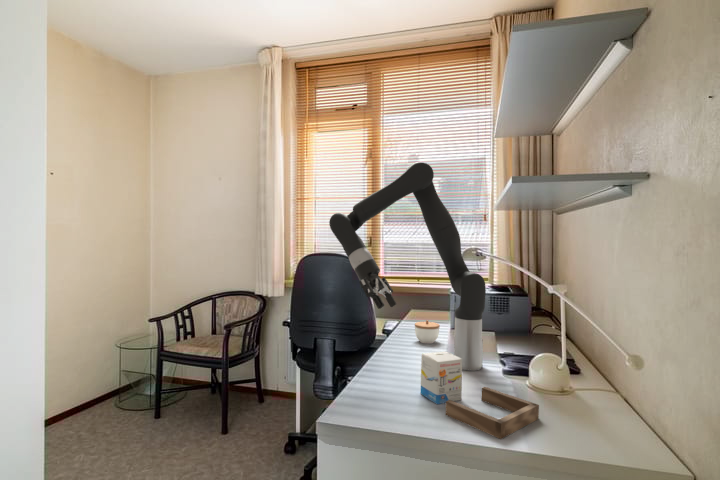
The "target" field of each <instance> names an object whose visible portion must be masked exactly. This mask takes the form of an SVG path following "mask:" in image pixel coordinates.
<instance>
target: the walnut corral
mask: <svg viewBox="0 0 720 480" xmlns="http://www.w3.org/2000/svg"><path fill="white" fill-rule="evenodd" d="M480 401H482V402H485V403H487V404H490V405H493V406H495V407H497V408H501V409H504V410H506V411H509V412H511V413H509V414H507V415H505V416H503V417H501V418H496V417H494V416H491V415H488V414H486V413H484V412H481V411H478V410H476V409H474V408H471V407H469V406H466V405H463V404H461V403H460V402H459V403H458V402H457V401H451V400H448V401H446V403H445V416H447V417H449V418H452V419H454V420H456V421H458V422H461V423H463V424H465V425H467V426H470V427H472V428H474V429H476V430H479V431H480V432H483V433H485V434H488V435H491V436H492V437H495V438H497V439H500V440H502V439H505V438H506V437H508V436H510V435H512V434H513V433H516V432H517V431H519V430H521V429H523V428H524V427H527V426H528V425H530V424H532V423H534V422H536V421H537V420H539V417H540V405H539V404H538V403H535V402H531V401H528V400H525V399H523V398H519V397H518V396H517V397H516V396H513V395H511V394H507V393H506V392H505V393H504V392H502V391H500V390H496V389H493V388H490V387H486V386H483V387H481V400H480Z"/></svg>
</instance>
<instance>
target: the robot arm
mask: <svg viewBox="0 0 720 480" xmlns="http://www.w3.org/2000/svg"><path fill="white" fill-rule="evenodd" d="M434 174H435V173H434V169H433V167H432V166H431V165H430V164H429V163H427V162H424V161H417V162H414V163H412V164H410V165H409V166H408V167H407V168H406V170H405V171H404V172H403V173H402V174H401V175H400V176H399V177H398V178H396V179H395V180H393V181H391V183H389V184H387V185H386V186H384V187H382V188H380V189H379V190H377V191H375V192H373V193H371V194H370V195H368V196H366V197H365V198H363V199H362V200H360V201H359V202H357V203H356V204H354V205H353V207H352V211H351V212H350V213H349V214H347V215H346V214H345V213H343V212H336V213H333V214H332V215H331V217H330V219H329V224H328V225H329V228H330V230H331V231H332V233H333V235H334V236H335V238H336V239H337V241H338V242H339V244H340V245H341V247H342V249H343V251H344V253H345V254H346V256H347V258H348V260H349V263H350V265H351V267H352V269H353V270H354V272H355V274H356V276H357V278H358V280H359V284H360V286H361V288H362V289H363V292H364V294H365V296H366V297H367V298H370V299H371V300H373V302H374V304H375V307H377V309H379V310H380V309H382V308H384V306H385V304H384V302H383V300H382V298H381V296H380V295H382V296H384V298H385V300H386V301H387V303H388V306H390V307H391V308H393V307H395V306H396V305H397V301H396V300H395V298H394V297H393V294H392V293H394V290H393V289H392V287H391V285H390V284H389V281H388V279H386V277H385V276H383V277H382V278H381V277H380V276H379V274H380V272H381V269H380V268H379V265H378V263H377V262H376V260H375V258H374V257H373V255H372V253H371V252H370V251H369V249H368V248H367V246H366V245H365V243H364V241H363V240H362V238H361V237H360V236H359V234H358V233H357V232H356V231H358V230H359V229H360V228H361V227H362V226H363V225H364V224H365V223H366V222H368V221H370V220H371V219H373V218H374V217H377V215H379V214H381V213H382V212H384V211H385V210H386V209H388V208H389V207H390V206H393V204H395V203H396V202H398V201H400V200H401V199H403V198H404V197H407V196H408V195H410V194H412V195H413V196H414V198H415V199H416V202H417V204H418V205H419V207H420V210H421V214H422V216H423V217H422V218H423V220H424V222H425V225H426V227H427V230H428V233H429V235H430V237H431V240H432V241H433V243H434V246H435V248H436V250H437V252H438V253H439V256H440V258H441V261H442V262H443V264H444V266H445V270H446V272H447V276H448V280H449V282H450V285H451V288H452V290H453V291H454V293H455V294H456V295H457V296H459V297H460V299H459V305H458V307H456V308H455V309H454V347H453V348H454V349H453V350H454V352H453V353H454V354H453V355H455V356H457V357H459V358H461V359H462V371H474V372H475V371H479V370H481V369H482V367H483V354H484V353H483V352H484V351H483V349H484V340H483V339H482V338H483V337H482V336H483V314H484V311H485V307H486V294H487V293H486V292H487V291H486V289H487V288H486V286H487V285H486V282H485V279H484V278H483V276H482V275H481V274H480V273H476V272H472V271H470V270H469V268H468V266H467V264H466V262H465V260H464V258H463V254H462V247H461V245H462V244H461V243H462V242H461V236H460V233H459V232H460V231H458V228H457V226H456V223H455V221H454V219H453V217H452V215H451V213H450V212H449V210H448V209H447V207H446V206H445V204H444V203H443V202H442V200H441V199H440V197H439V195H438V193H437V189H436V188H435V184H434V181H433V180H434ZM379 294H380V295H379Z"/></svg>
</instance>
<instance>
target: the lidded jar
mask: <svg viewBox="0 0 720 480" xmlns="http://www.w3.org/2000/svg"><path fill="white" fill-rule="evenodd" d="M414 333H415V337H416V339H417V340H418V341H419V342H420V343H422V344H434V343H435V341H436V340H437V339H438V338H439V335H440V324H439V323H437V322H433V321H429V320H428V319H426V320H425V321H418V322H417V321H416V322H414Z"/></svg>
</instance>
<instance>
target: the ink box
mask: <svg viewBox="0 0 720 480" xmlns="http://www.w3.org/2000/svg"><path fill="white" fill-rule="evenodd" d="M420 362H421V364H420V370H421V371H420V393H419V394H420V395H422V396H424V398H427V399H428V400H430V401H431V402H432V403H434V404H436V405H441V404H446V401H448V400H451V401H454V402H458V401H462V398H463V395H462V394H463V392H462V388H463V370H462V359H461V358H459V357H457V356H455V355H454V354H453V353H451V352H447V351H434V352H425V353H421V361H420Z"/></svg>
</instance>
